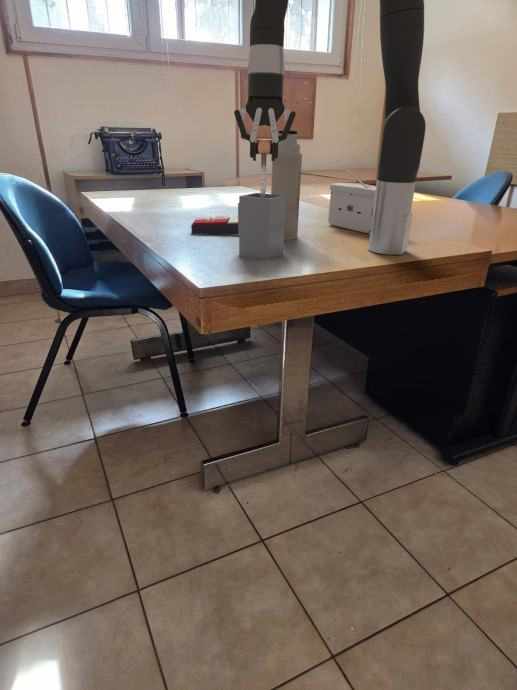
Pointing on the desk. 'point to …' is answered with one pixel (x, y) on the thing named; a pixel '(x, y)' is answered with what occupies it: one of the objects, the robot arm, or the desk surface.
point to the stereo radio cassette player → (351, 205)
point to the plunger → (263, 161)
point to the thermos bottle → (288, 180)
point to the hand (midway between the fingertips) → (263, 160)
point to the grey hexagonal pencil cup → (261, 225)
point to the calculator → (215, 225)
